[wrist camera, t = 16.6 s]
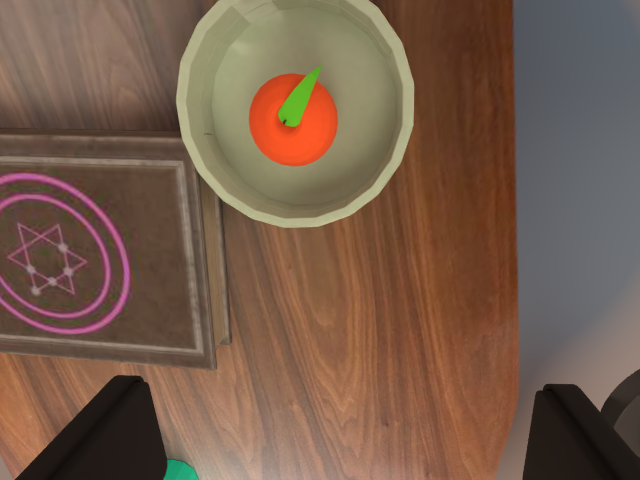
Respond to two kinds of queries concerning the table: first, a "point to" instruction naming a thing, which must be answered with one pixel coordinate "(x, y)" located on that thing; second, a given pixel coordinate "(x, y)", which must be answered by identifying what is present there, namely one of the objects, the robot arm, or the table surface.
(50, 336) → the book
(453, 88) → the table surface
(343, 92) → the bowl
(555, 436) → the robot arm
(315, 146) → the clementine
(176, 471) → the candle
